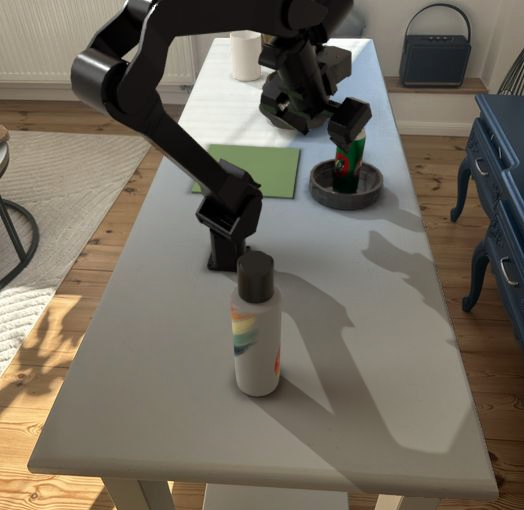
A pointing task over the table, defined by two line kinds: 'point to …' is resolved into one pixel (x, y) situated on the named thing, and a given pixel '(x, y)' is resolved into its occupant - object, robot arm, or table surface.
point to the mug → (245, 55)
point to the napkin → (261, 166)
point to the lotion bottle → (256, 324)
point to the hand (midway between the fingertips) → (326, 142)
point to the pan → (361, 198)
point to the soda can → (349, 166)
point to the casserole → (312, 124)
